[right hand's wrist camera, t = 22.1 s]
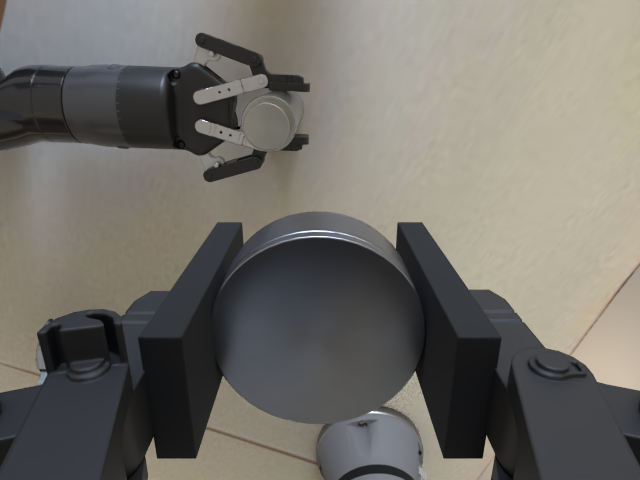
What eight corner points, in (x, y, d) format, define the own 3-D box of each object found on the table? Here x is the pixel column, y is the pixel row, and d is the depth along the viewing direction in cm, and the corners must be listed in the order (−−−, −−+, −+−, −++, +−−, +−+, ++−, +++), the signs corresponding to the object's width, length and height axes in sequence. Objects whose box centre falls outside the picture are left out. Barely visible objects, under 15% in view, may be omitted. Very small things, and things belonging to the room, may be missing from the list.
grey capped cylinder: (260, 94, 49) (229, 106, 32) (297, 82, 49) (284, 89, 32) (273, 131, 50) (248, 162, 34) (308, 120, 50) (302, 146, 33)
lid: (419, 362, 13) (435, 408, 11) (249, 387, 13) (237, 437, 11) (399, 195, 11) (414, 218, 9) (204, 228, 11) (182, 256, 9)
